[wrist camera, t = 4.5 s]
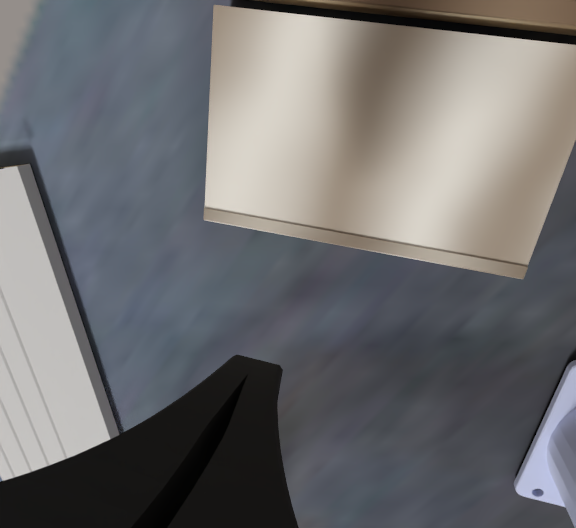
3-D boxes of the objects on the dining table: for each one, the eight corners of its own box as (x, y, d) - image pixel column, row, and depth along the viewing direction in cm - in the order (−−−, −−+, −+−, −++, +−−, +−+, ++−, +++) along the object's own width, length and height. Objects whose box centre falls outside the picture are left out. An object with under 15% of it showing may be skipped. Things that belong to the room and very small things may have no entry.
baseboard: (40, 564, 34) (176, 581, 32) (12, 602, 32) (157, 625, 29) (-139, 183, 24) (40, 160, 21) (-204, 193, 21) (-9, 168, 18)
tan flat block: (589, 52, 15) (611, 48, 13) (511, 264, 18) (522, 279, 16) (227, 11, 16) (212, 4, 15) (216, 211, 20) (203, 220, 18)
